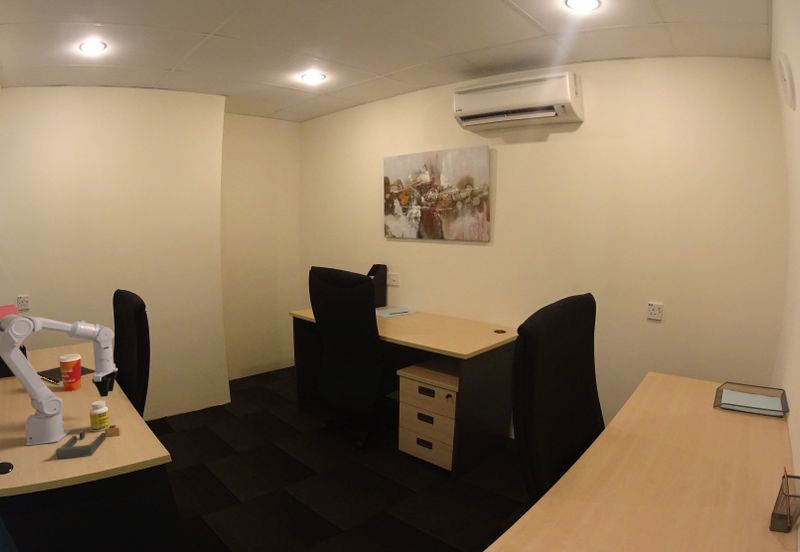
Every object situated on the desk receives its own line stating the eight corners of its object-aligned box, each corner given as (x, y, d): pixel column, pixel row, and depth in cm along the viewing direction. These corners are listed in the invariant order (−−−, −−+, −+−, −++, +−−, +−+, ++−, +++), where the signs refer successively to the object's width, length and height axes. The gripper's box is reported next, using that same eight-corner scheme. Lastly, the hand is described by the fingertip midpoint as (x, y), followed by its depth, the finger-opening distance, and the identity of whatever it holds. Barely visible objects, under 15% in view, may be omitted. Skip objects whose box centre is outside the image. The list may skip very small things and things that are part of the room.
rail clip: (56, 459, 138) (56, 450, 138) (77, 437, 152) (76, 429, 152) (91, 455, 141) (90, 446, 140) (109, 434, 154) (108, 426, 154)
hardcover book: (73, 367, 228) (73, 363, 228) (96, 375, 216) (96, 370, 216) (35, 377, 214) (35, 372, 214) (58, 386, 203) (58, 381, 202)
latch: (105, 436, 153) (104, 427, 152) (106, 435, 154) (105, 425, 154) (119, 435, 154) (118, 425, 154) (120, 433, 155) (120, 424, 155)
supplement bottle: (100, 432, 156) (98, 406, 155) (87, 431, 157) (84, 404, 156) (113, 426, 161) (111, 400, 160) (100, 424, 162) (98, 398, 161)
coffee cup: (56, 390, 195) (53, 357, 194) (76, 384, 203) (73, 352, 201) (69, 393, 192) (65, 359, 190) (88, 386, 200) (85, 354, 198)
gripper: (108, 363, 158) (111, 400, 159) (122, 351, 172) (125, 385, 173) (85, 364, 156) (89, 402, 158) (102, 353, 170) (105, 387, 172)
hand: (106, 393), depth 165 cm, fingers open, 4 cm apart
